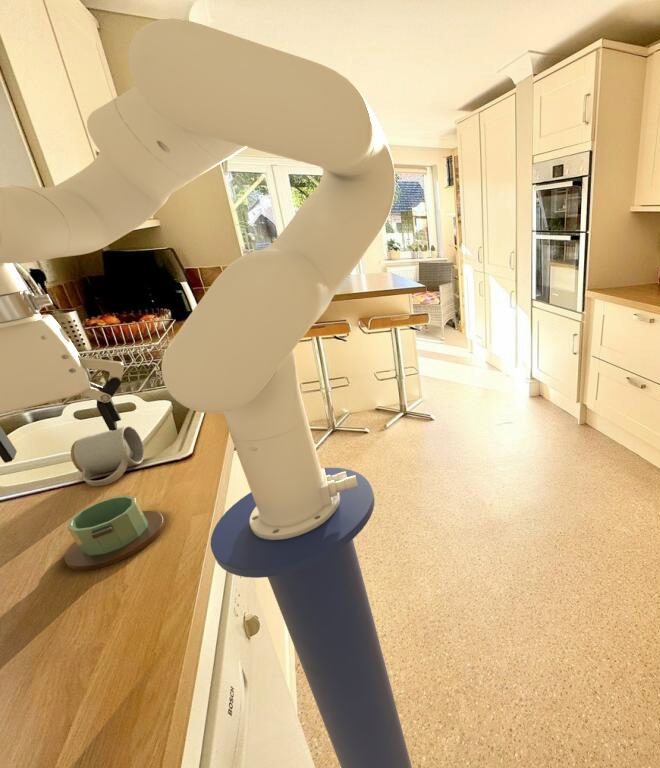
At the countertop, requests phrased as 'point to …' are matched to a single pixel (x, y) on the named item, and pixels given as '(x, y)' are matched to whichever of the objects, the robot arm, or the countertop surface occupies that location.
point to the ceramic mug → (107, 454)
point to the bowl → (107, 525)
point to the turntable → (87, 562)
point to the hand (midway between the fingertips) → (65, 441)
